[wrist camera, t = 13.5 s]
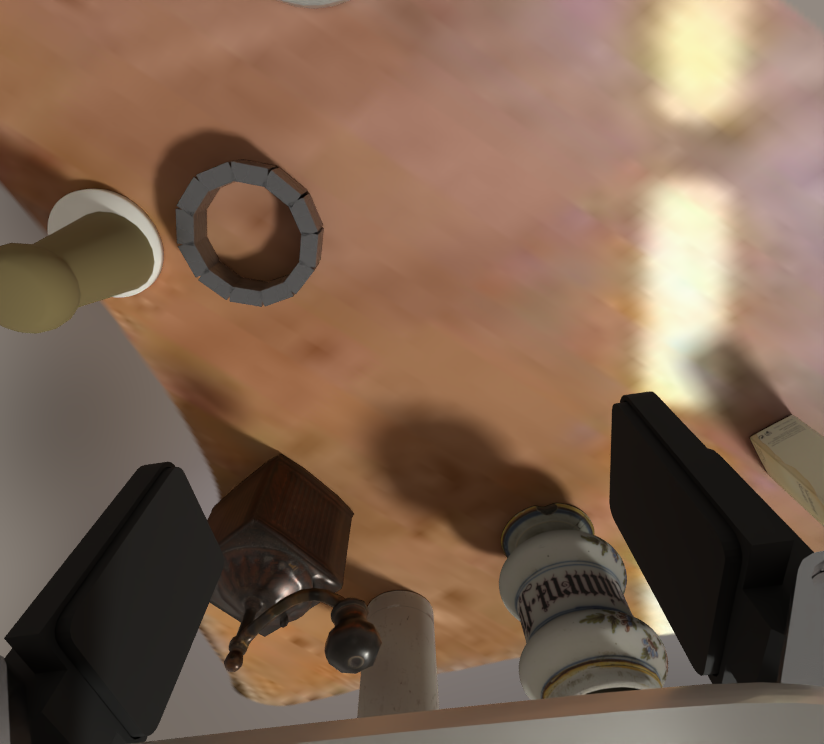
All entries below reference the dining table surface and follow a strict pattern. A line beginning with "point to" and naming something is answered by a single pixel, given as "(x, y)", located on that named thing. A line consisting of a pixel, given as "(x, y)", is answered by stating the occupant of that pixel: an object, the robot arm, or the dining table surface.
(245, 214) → the dining table surface
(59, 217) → the pebble
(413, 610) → the thermos bottle
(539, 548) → the apothecary jar
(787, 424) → the skincare box
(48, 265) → the cork
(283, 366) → the dining table surface
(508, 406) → the dining table surface
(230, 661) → the pepper mill
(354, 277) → the dining table surface
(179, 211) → the holder ring
